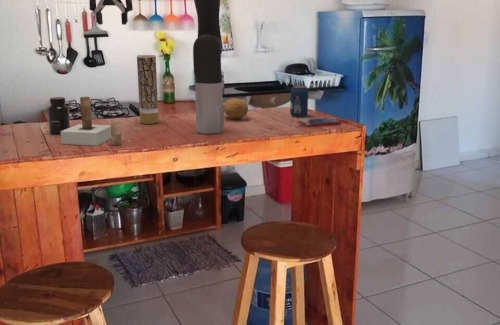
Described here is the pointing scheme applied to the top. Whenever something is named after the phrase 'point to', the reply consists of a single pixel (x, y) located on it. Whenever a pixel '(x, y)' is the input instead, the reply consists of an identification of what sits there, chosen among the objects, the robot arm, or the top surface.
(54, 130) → the supplement bottle
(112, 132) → the short pin
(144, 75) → the paper tube
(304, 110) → the soda can
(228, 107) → the potato
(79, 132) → the hole block
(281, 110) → the top surface
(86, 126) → the long pin
